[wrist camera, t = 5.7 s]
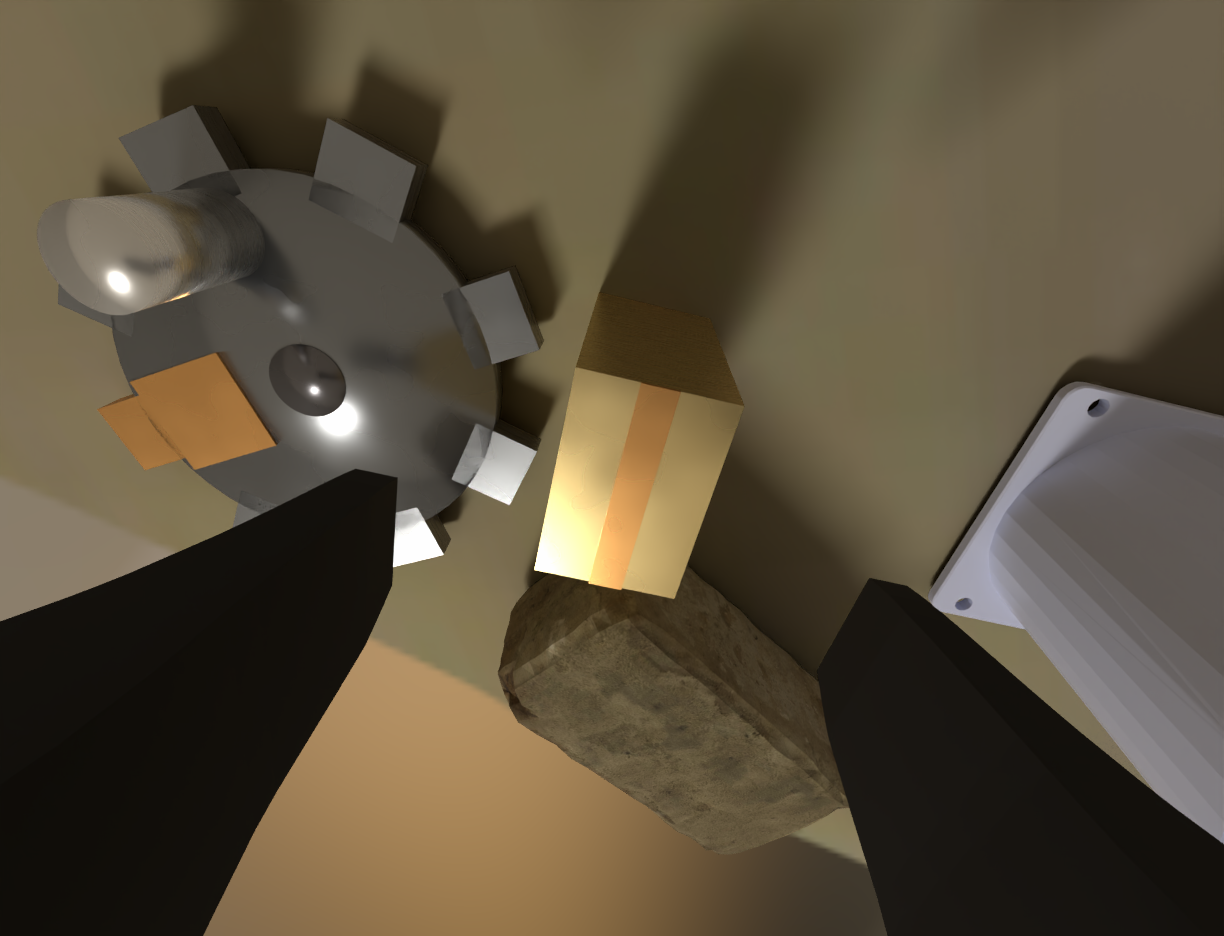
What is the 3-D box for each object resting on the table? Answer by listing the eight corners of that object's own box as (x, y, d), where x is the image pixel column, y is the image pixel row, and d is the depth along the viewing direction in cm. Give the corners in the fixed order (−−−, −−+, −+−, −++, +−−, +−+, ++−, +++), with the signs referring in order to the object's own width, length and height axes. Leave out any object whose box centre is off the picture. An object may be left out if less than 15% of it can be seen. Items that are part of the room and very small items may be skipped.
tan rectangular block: (710, 317, 15) (745, 407, 10) (664, 464, 18) (674, 600, 12) (599, 291, 15) (575, 367, 10) (567, 442, 17) (533, 572, 12)
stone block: (621, 494, 18) (615, 603, 14) (838, 682, 22) (888, 815, 18) (505, 592, 20) (469, 713, 16) (720, 748, 24) (737, 882, 20)
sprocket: (421, 18, 12) (319, -43, 8) (604, 501, 18) (594, 598, 14) (-22, 211, 15) (-264, 234, 11) (262, 586, 20) (171, 690, 16)
